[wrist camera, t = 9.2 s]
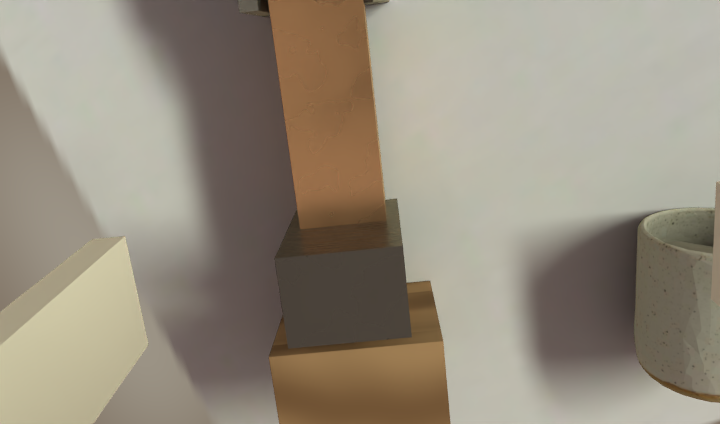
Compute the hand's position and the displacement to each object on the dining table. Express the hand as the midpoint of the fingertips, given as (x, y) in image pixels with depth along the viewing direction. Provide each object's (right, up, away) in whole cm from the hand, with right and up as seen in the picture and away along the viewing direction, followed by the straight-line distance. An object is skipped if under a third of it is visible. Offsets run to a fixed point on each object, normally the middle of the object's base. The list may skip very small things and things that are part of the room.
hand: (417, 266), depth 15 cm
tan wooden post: (-2, +3, +19) cm, 20 cm away
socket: (-1, -5, +24) cm, 24 cm away
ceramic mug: (+18, -2, +23) cm, 29 cm away
